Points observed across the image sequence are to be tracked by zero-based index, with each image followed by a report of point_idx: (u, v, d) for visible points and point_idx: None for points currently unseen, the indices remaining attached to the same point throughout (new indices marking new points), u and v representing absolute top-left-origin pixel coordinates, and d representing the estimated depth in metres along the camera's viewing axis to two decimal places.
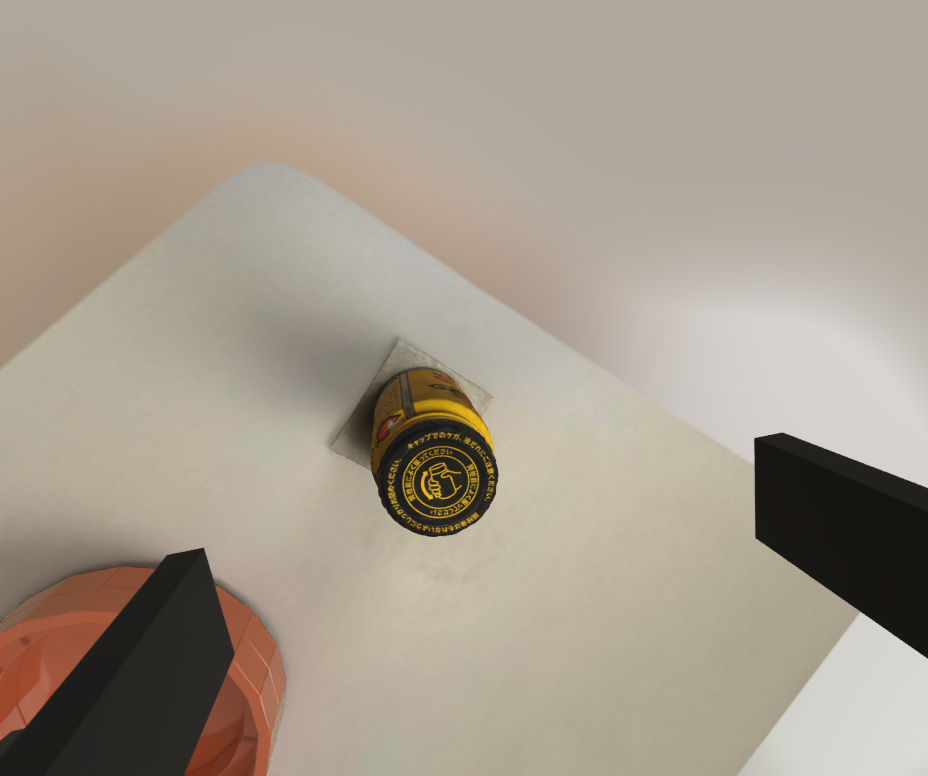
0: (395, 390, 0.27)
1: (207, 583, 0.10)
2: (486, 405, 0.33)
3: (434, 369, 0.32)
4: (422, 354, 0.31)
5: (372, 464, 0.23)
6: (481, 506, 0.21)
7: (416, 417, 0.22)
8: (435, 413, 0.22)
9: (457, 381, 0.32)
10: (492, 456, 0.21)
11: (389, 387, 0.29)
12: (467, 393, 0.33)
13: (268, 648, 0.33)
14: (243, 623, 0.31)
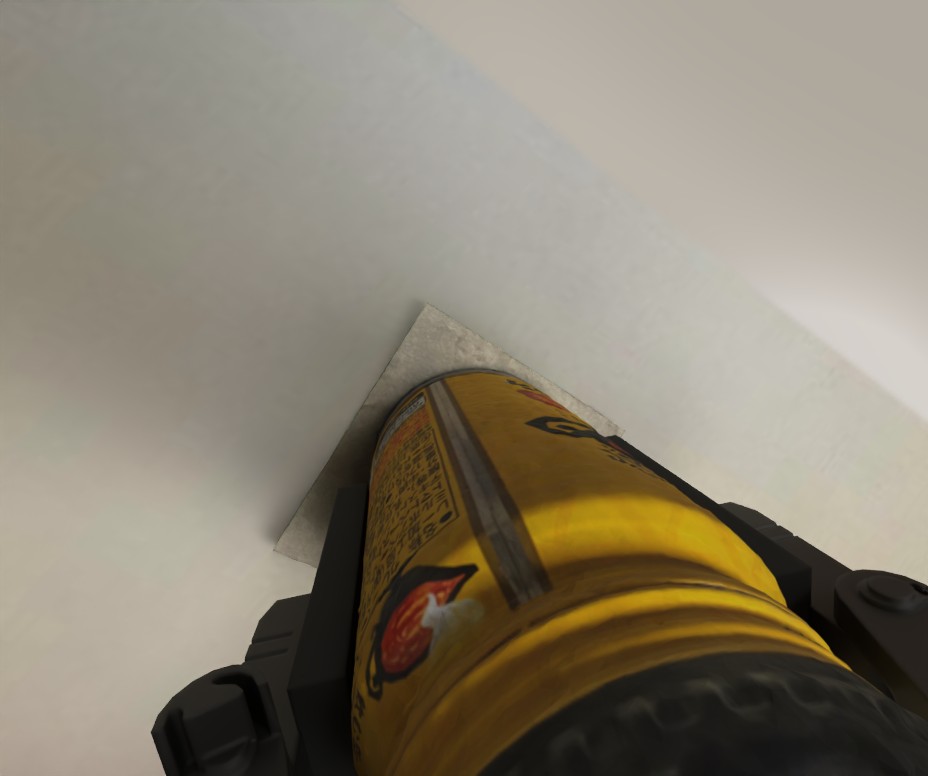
0: (426, 432, 0.10)
1: None
2: None
3: (501, 372, 0.14)
4: (477, 340, 0.14)
5: (358, 754, 0.06)
6: None
7: (569, 617, 0.04)
8: (657, 592, 0.05)
9: (550, 398, 0.15)
10: None
11: (406, 418, 0.12)
12: None
13: None
14: None
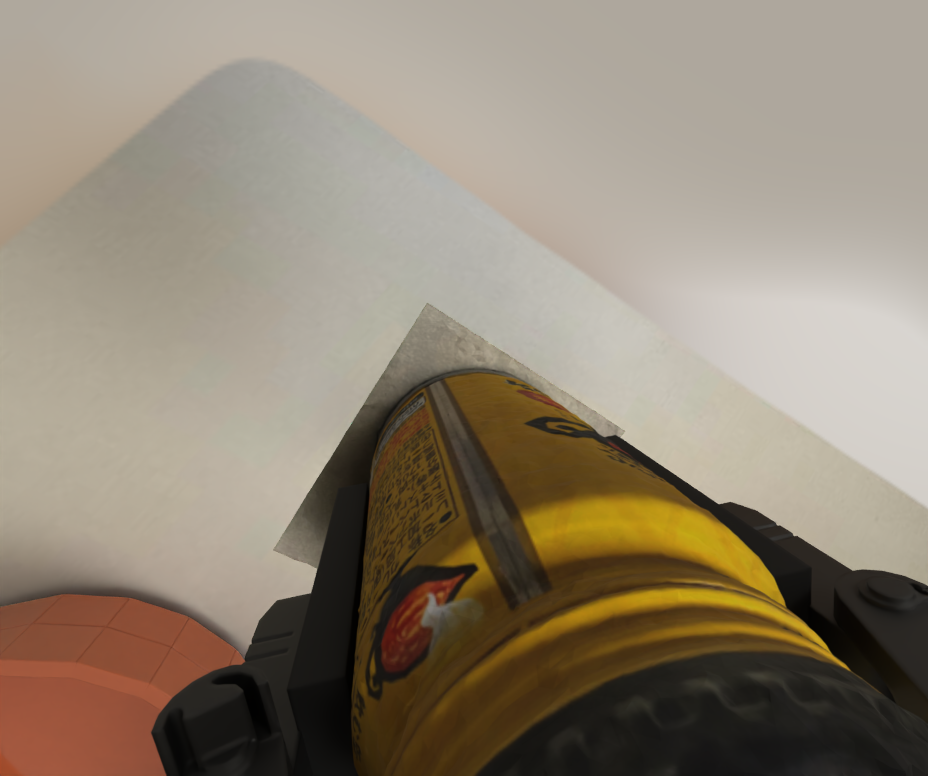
0: (425, 432, 0.10)
1: None
2: None
3: (501, 372, 0.14)
4: (476, 340, 0.14)
5: (358, 753, 0.06)
6: None
7: (568, 617, 0.04)
8: (655, 592, 0.05)
9: None
10: None
11: (405, 418, 0.12)
12: None
13: None
14: (223, 667, 0.24)
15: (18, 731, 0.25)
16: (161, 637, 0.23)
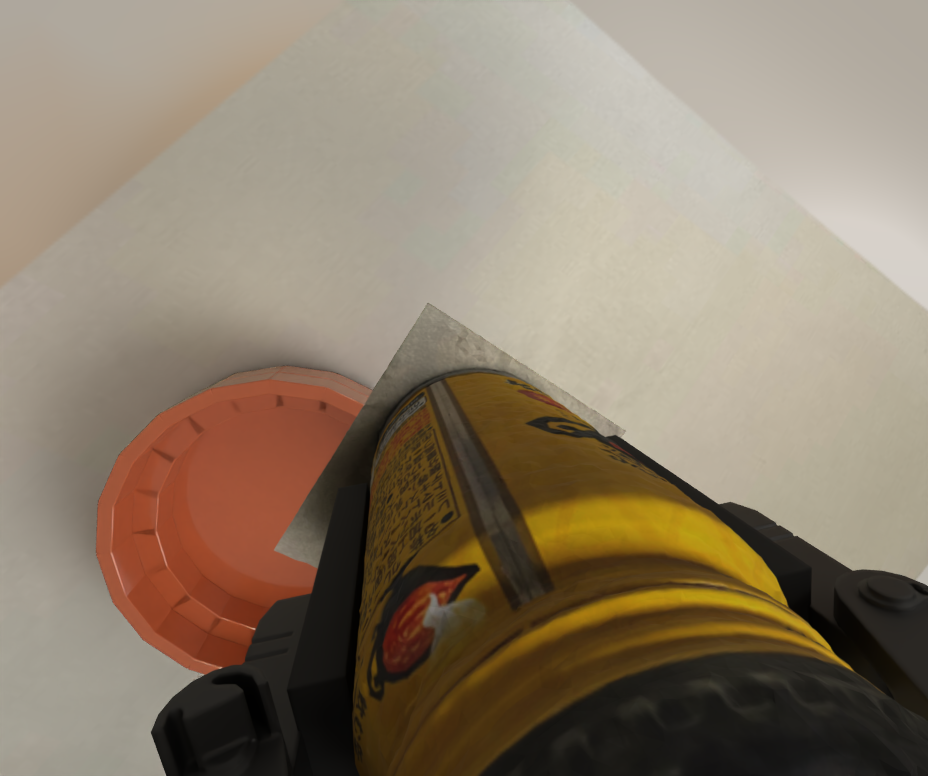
0: (426, 432, 0.10)
1: None
2: None
3: (501, 372, 0.14)
4: (478, 339, 0.14)
5: (360, 754, 0.06)
6: None
7: (570, 618, 0.04)
8: (658, 593, 0.05)
9: None
10: None
11: (406, 418, 0.12)
12: None
13: None
14: None
15: (240, 483, 0.31)
16: (368, 395, 0.29)
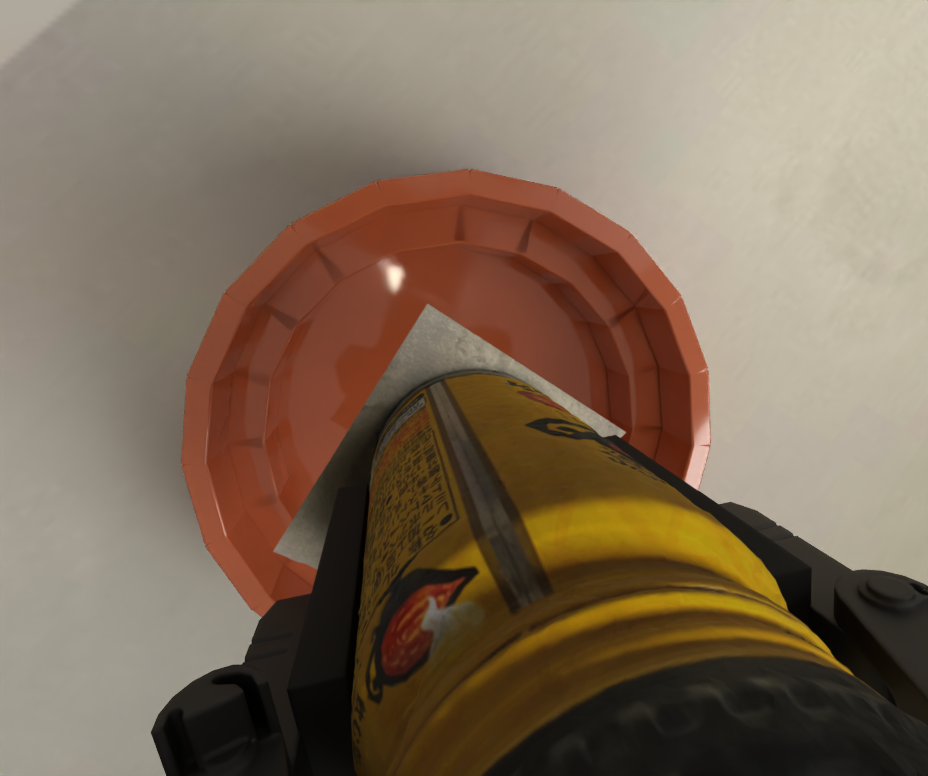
0: (426, 434, 0.10)
1: None
2: None
3: (501, 373, 0.14)
4: (477, 341, 0.14)
5: (358, 757, 0.06)
6: None
7: (569, 622, 0.04)
8: (657, 597, 0.05)
9: (550, 399, 0.15)
10: None
11: (406, 419, 0.12)
12: None
13: None
14: None
15: (378, 379, 0.21)
16: None
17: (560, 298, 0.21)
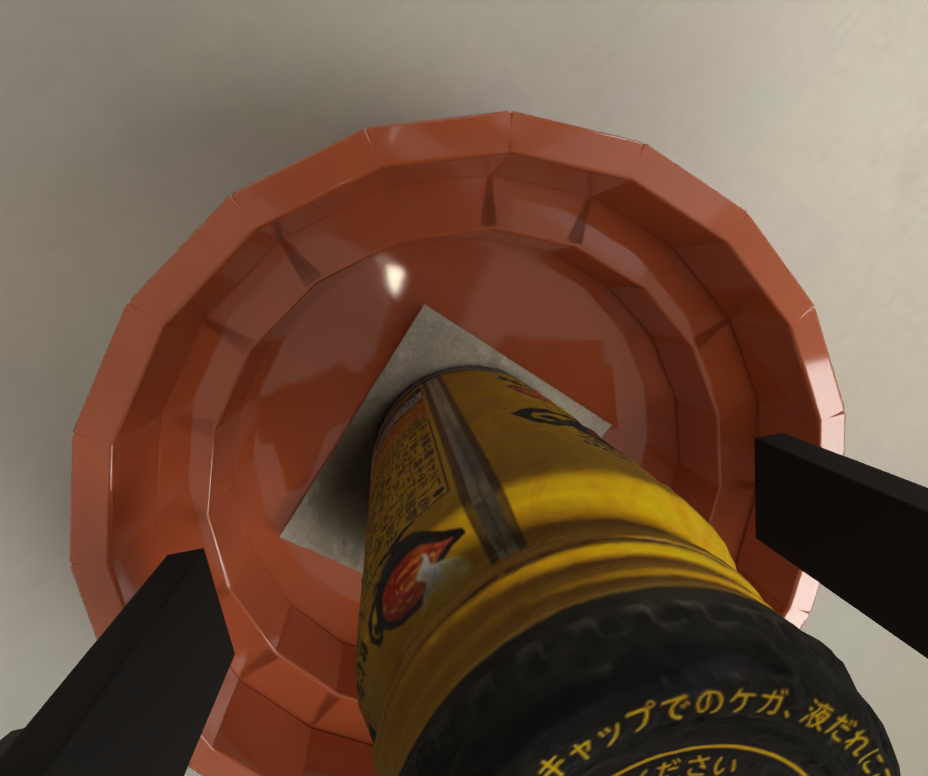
0: (422, 423, 0.11)
1: (207, 583, 0.10)
2: None
3: (494, 369, 0.15)
4: (471, 339, 0.15)
5: (362, 695, 0.07)
6: None
7: (537, 565, 0.05)
8: (611, 545, 0.05)
9: (540, 393, 0.16)
10: (893, 754, 0.05)
11: (404, 411, 0.13)
12: None
13: None
14: None
15: None
16: None
17: (618, 307, 0.16)
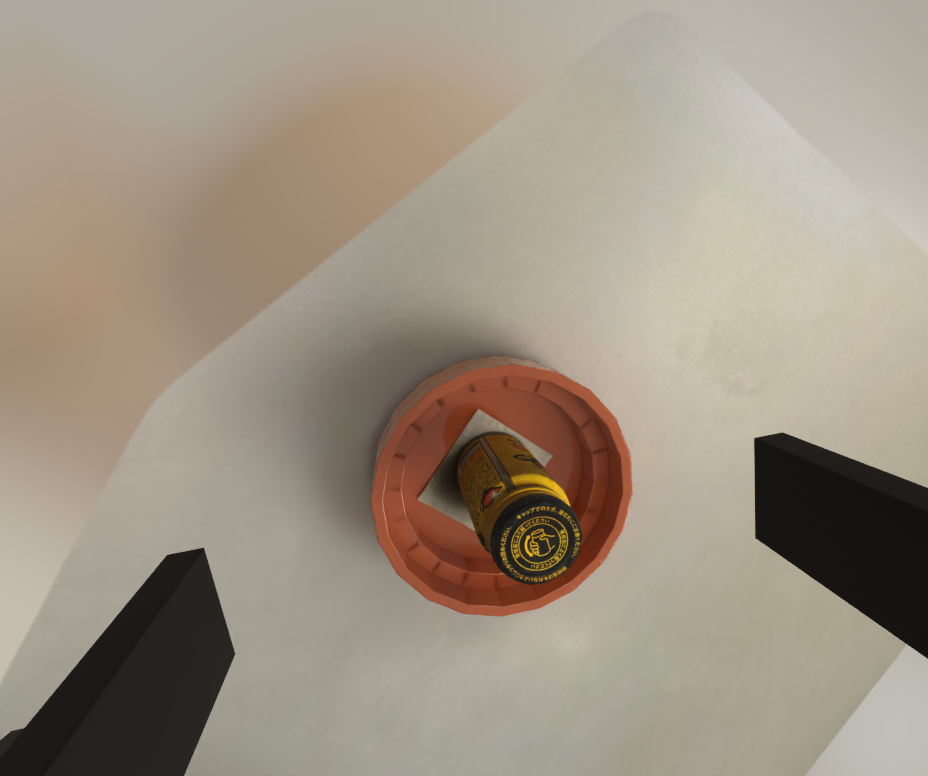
0: (483, 458, 0.34)
1: (207, 583, 0.10)
2: (546, 462, 0.39)
3: (504, 433, 0.38)
4: (496, 421, 0.38)
5: (477, 525, 0.30)
6: (569, 561, 0.28)
7: (518, 491, 0.28)
8: (532, 488, 0.28)
9: (523, 442, 0.39)
10: (578, 523, 0.28)
11: (473, 452, 0.36)
12: (531, 452, 0.39)
13: None
14: None
15: None
16: None
17: (555, 408, 0.39)
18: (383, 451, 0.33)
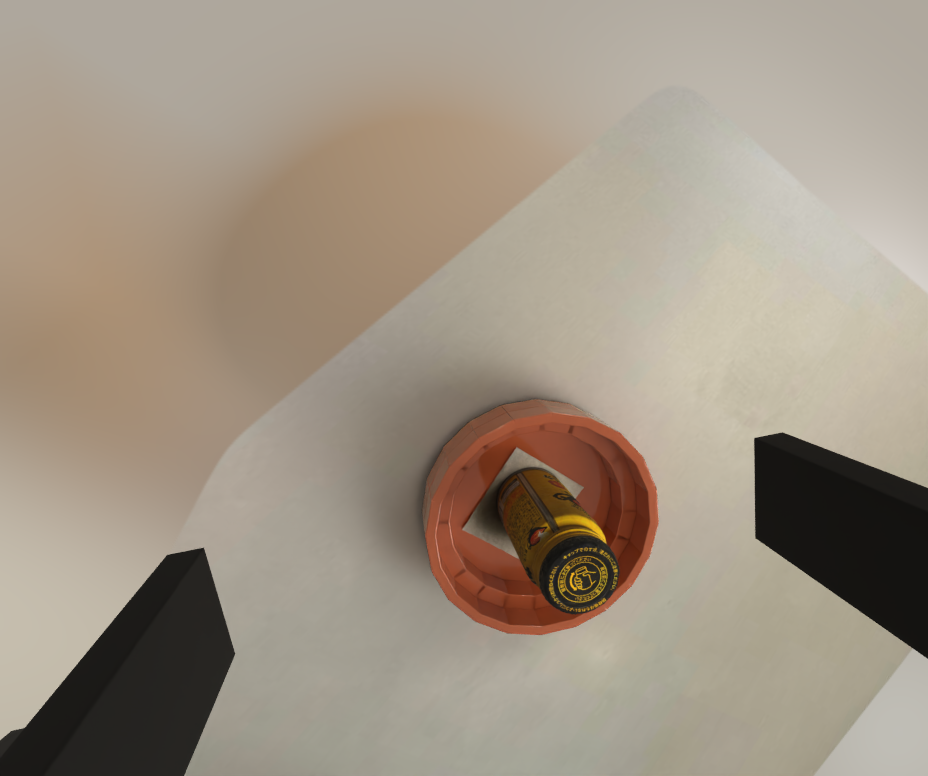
0: (525, 496, 0.37)
1: (207, 582, 0.10)
2: (577, 493, 0.43)
3: (540, 468, 0.42)
4: (532, 458, 0.42)
5: (525, 560, 0.33)
6: (608, 593, 0.32)
7: (562, 532, 0.32)
8: (574, 529, 0.32)
9: (557, 476, 0.42)
10: (616, 560, 0.31)
11: (513, 488, 0.40)
12: (564, 485, 0.43)
13: None
14: None
15: None
16: (600, 421, 0.40)
17: (586, 444, 0.42)
18: (436, 492, 0.37)
